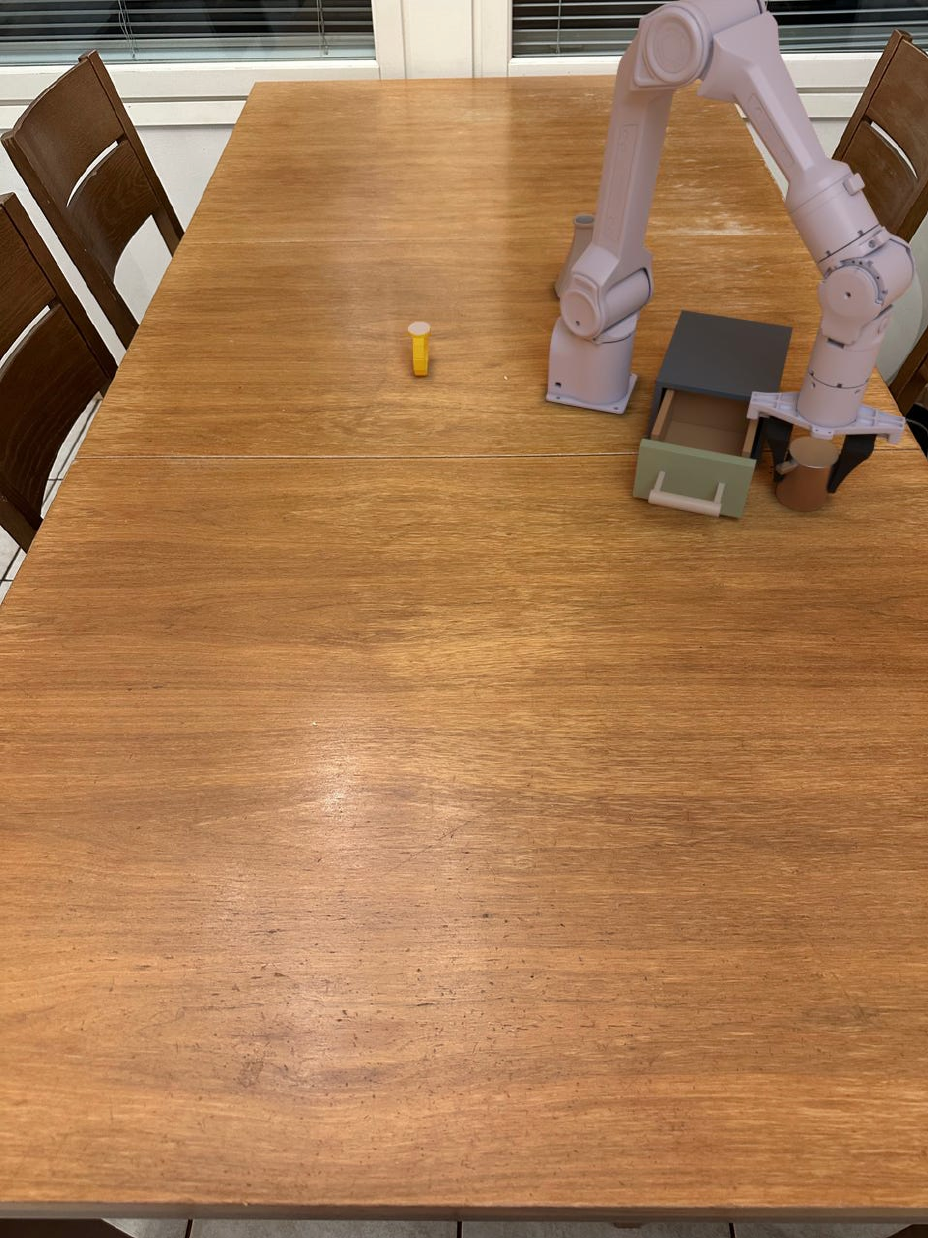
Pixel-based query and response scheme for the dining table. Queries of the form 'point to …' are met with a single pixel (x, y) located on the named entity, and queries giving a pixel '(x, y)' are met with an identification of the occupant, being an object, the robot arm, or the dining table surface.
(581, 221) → the flask
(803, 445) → the measuring cup
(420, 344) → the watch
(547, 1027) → the dining table surface
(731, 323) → the cabinet
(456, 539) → the dining table surface
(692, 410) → the drawer
